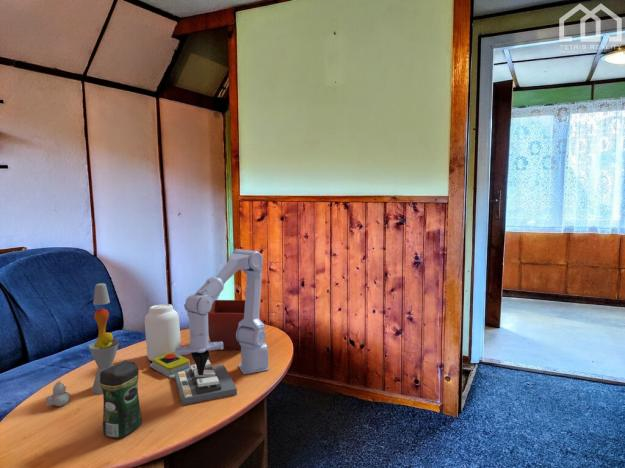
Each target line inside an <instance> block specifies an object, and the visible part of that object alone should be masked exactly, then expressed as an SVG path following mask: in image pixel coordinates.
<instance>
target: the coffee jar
mask: <svg viewBox="0 0 625 468" xmlns="http://www.w3.org/2000/svg"><path fill="white" fill-rule="evenodd" d="M138 368H139V367H138V364H137V363H136V362H135V361H133V360H127V359H123V360H122V361H120V362H118V363H115V364H113V366H111V367H109V368H107V369H105V370H103V371H102V372H101V373H100V386H101V388H102V390H103V394H102V396H103V399H102V400H103V415H102V429H103V430H102V431H103V432H102V433H103V434H104V436H106V437H107V438H111V439H119V438H121V439H123V438H124V437H127V436H128V435H129V434H131V433H133V432H134V431H135V430H136V429H138V428H139V427H141V425H142V423H143V422H142V421H143V418H142V410H141V405H140V399H139V398H140V397H139V388H138V385H139V384H138V383H139V376H140V373H139V369H138Z"/></svg>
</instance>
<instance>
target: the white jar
mask: <svg viewBox="0 0 625 468" xmlns="http://www.w3.org/2000/svg"><path fill="white" fill-rule="evenodd" d="M144 327H145V328H144V329H145V330H144V331H145V344H146V358H147V359H148V360H149V361H151V362H152V360H153V358H156V357H159V356H162V355H165V354H168V353H171V352H175V348H180V347H182V343H181V329H180V328H181V326H180V316H179V313H178V312H177V311H176V309H174V306H173V305H172V304H170V303H161V304H155V305H152V306H150V307H149V309H148V313H147V314H146V315H145V316H144Z"/></svg>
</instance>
